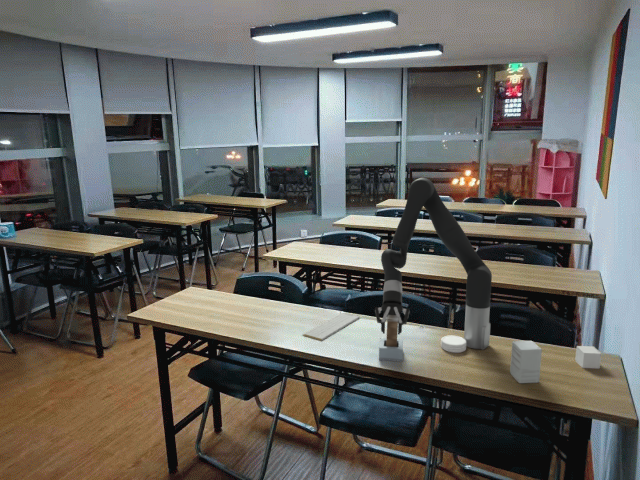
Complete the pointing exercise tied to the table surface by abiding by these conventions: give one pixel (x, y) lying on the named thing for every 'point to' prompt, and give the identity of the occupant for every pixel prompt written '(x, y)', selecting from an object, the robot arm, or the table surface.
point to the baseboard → (331, 326)
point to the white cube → (588, 357)
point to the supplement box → (525, 361)
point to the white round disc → (453, 343)
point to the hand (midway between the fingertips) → (391, 333)
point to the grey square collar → (391, 351)
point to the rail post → (392, 330)
